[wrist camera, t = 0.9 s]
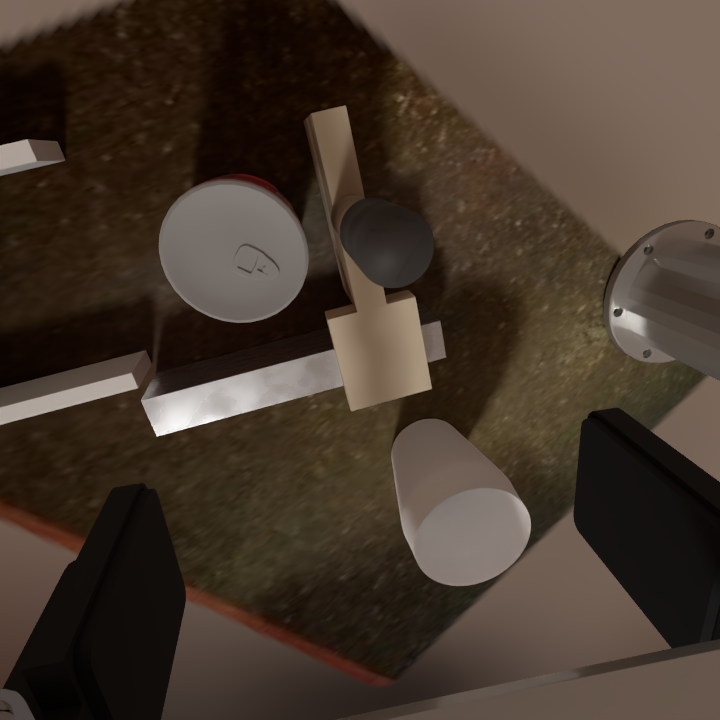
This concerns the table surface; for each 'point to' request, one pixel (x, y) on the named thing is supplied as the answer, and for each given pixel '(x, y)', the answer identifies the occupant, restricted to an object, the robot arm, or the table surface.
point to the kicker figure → (370, 272)
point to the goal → (75, 382)
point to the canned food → (234, 248)
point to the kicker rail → (257, 378)
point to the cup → (456, 505)
